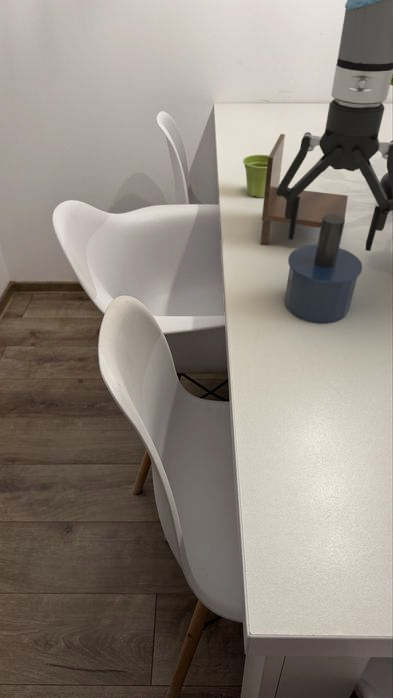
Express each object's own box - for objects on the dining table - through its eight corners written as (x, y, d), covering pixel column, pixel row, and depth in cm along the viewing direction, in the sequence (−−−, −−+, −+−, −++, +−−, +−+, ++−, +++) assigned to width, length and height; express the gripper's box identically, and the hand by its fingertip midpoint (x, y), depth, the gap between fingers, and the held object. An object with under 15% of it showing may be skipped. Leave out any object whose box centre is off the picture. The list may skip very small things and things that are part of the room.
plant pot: (251, 203, 124) (254, 169, 119) (234, 189, 131) (236, 157, 125) (282, 197, 127) (287, 164, 122) (264, 184, 134) (267, 152, 128)
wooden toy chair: (341, 223, 115) (359, 141, 103) (337, 255, 104) (356, 166, 91) (271, 214, 119) (280, 133, 107) (259, 244, 107) (268, 157, 95)
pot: (349, 293, 93) (359, 253, 87) (346, 328, 84) (357, 287, 79) (289, 283, 95) (295, 244, 90) (280, 317, 87) (286, 276, 81)
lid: (362, 255, 88) (374, 208, 82) (359, 292, 79) (373, 241, 73) (292, 245, 90) (299, 199, 85) (282, 280, 81) (289, 230, 75)
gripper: (267, 100, 67) (254, 241, 81) (453, 115, 62) (405, 263, 76) (275, 88, 73) (262, 222, 87) (447, 101, 68) (403, 241, 81)
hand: (329, 241), depth 81 cm, fingers open, 12 cm apart
